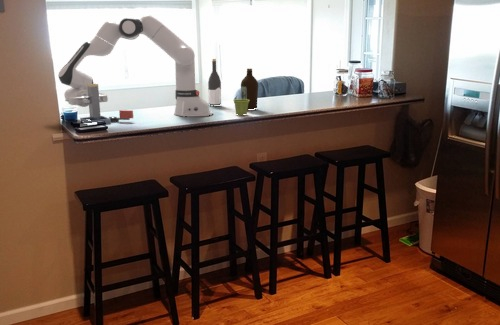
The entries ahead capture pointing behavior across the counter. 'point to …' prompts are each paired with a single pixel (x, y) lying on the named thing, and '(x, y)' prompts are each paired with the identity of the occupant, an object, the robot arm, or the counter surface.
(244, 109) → the plant pot
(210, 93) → the wine bottle
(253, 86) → the olive oil
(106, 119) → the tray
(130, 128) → the counter surface
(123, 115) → the crank lever
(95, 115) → the pin
